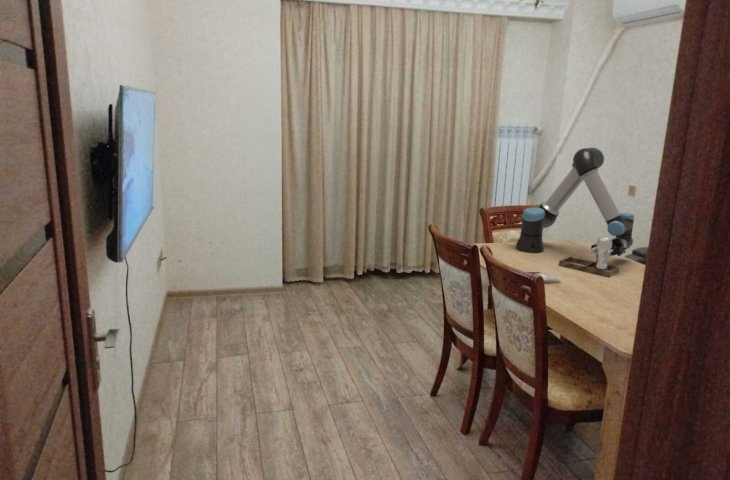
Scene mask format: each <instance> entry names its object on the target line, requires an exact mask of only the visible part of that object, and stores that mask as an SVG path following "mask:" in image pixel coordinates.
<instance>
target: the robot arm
mask: <svg viewBox="0 0 730 480" xmlns="http://www.w3.org/2000/svg"><path fill="white" fill-rule="evenodd" d="M604 155H605V154H604V153H603V151H602V150H600V149H599V148H596V147H589V148H588V147H587V148H581V149H579V150H577V151H576V152H575V154H574V155H573V156H572V157H573V158H572V164H571V170H570V171H569V172H568V173H567V174H566V176H565V177H564V178H563V180H562V181H561V182H560V183H559V184H558V186H557V187H556V189H555V190H554V191H553V192H552V193H551V194H550V196H549V197H548V198H547V200H546V201H542V202H541V203H540V204H539V206H537V207H534V206H533V207H527V208H525V209H523V213H522V215H521V216H522V217H521V225H520V235H519V238H518V240H517V242H516V244H515V249H516V250H517V251H520V252H524V253H525V252H526V253H533V254H536V253H543V252H544V249H545V247H544V246H545V245H544V241H543V230H544V229H547V228H549V227H551V226H553V225H554V224H555V222H556V220H557V217H558V216H559V215H560V210H561V209H562V207H563V206H564V205H565V203H567V201H568V200H569V199H570V197H571V196H572V194H574V192H575V191H576V190H577V189H578V188H579V187H580V185H581V184H582V182H584V183H585V186H586V187H587V189H588V190H589V192H590V195H591V197H592V198H593V200H594V202H595V205H596V207H597V208H598V210H599V212H600V213H601V215H602V217H603V219H604V221H605V223H606V224H607V231H608V234H610V235H611V236H613V237H614V238H612V239H611V240H612V250H610V251H608V252H607V255H606V257H607V258H608V257H609V258H610V257H612V256H617V257H621V255H623V254H626V252H627V250H628V249H629V248H630V247H632V245H633V243H634V239H633V237H632V236H633V228H634V222H635V215H634V214H633V213H629V212H619V211H620V210H618V208H617V206H616V204H615V202H614V201H613V198H612V197H611V195H610V193H609V191H608V190H607V187H606V185H605V183H604V182H603V180H602V178H601V176H600V174H599V172H598V170H599V168H601V167H602V166H603V164H604V162H605V156H604ZM596 246H597V243H595V244H591V246H590V250H591V251H590V254H591V255H594V254H596Z"/></svg>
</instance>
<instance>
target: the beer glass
mask: <svg viewBox="0 0 730 480" xmlns="http://www.w3.org/2000/svg"><path fill="white" fill-rule="evenodd" d="M596 244H597V246H596V253H595V259H596V260H595V262H596V264H595V266H594V267H593V268H595V269H599V270H604V271H609V270H608V267H607V265H609V264H608V262H609V260H610V257H608V258H607V257H606V255H607V252H608V251H610V250H612V239H610V238H606V237H599V238H597V242H596Z"/></svg>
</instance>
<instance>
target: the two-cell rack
mask: <svg viewBox="0 0 730 480" xmlns="http://www.w3.org/2000/svg"><path fill="white" fill-rule="evenodd" d="M595 264H596V261H593V260H592V261H591V260H587V259H582V258H578V257H574V256H568V257H565V258H564V259H560V260H559V262H558V266H559V267H562V268H563V267H564V268H568V269H571V270H575V271H580V272H583V273H588V274H592V275H597V276H601V277H605V278H606V277H607V278H610V277H613V276H614V275H617V274H618V273H619V272H620V267H619V266H615V265H610V264H607V267H608V270H606V271H604V270H599V269H595V268H594V266H595Z"/></svg>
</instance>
